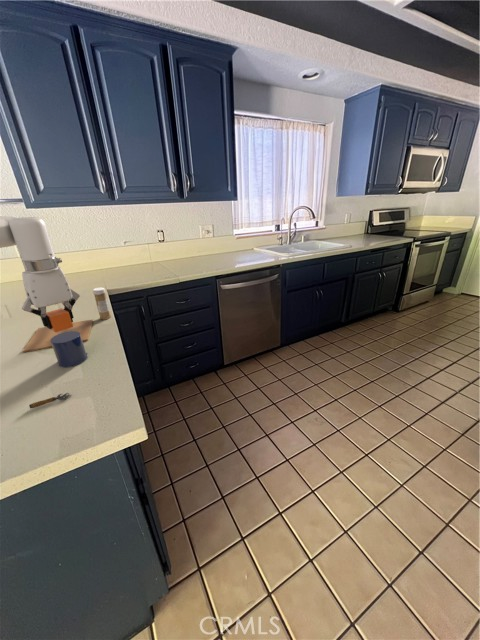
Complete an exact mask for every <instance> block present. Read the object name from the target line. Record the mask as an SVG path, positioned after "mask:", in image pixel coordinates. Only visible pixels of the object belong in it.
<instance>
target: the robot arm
mask: <svg viewBox="0 0 480 640" xmlns="http://www.w3.org/2000/svg"><path fill="white" fill-rule="evenodd" d="M15 246H16V248H17V251H18V253H19V257H20V260H21V263H22V266H23V268H24V271H22V272H21V275H22V282H23V288H24V291H25V294H26V299H25V301H24V303H23V305H22V307H21V310H22V311H24V312H27V313H30V314H33V315H36V316H39V317H40V320H41V322H42V325H43V327H47V328H49V329H52V325H51V322H50V319H49V317H48V316H47V314H46V313H47V307H49V306H53V305H58V304H62V306H63V309H64V310H66V311H68V312H69V315H70V318H71V321H72V323H74V314H73V307H74V305H75V304H76V302H77V301H78V299H79V298H80V297H81V294H79V293H77V292H76V291H75V290H73V289H71V287H70V283H69V282H68V279H67V277H66V275H65V273H64V271H63V269H62V268H61V267H60V266H59V264H61V263H63V260H62V258H61V257H57V256H56V255H55V252H54V249H53V245H52V242H51V239H50V235H49V232H48V229H47V225H46V222H45V221H44V219H43V218H41V217H38V216H37V217H36V216H23V217H14V216H7V215H6V216H0V249H2V248H8V247H15ZM31 306H33V307H31Z"/></svg>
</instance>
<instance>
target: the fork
mask: <svg viewBox="0 0 480 640" xmlns="http://www.w3.org/2000/svg"><path fill="white" fill-rule="evenodd" d="M71 396H72V394H70V393H69V392H66V393H64V394H62V393H59V394H58V395H56V396H52V397H50V398H47V399H42V400H39V401H36V402H32V403H30V404H29V406H28V407H29V409H34V408H38V407H41V406H43V405H46V404H49V403H52V402H55V401H57V400H58V401H64V400H66V399H68V398H70V397H71Z"/></svg>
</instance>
